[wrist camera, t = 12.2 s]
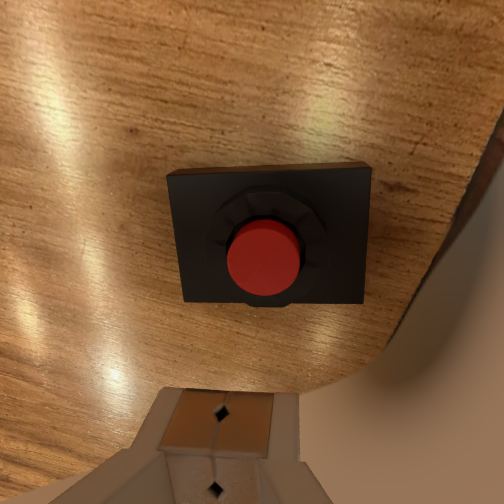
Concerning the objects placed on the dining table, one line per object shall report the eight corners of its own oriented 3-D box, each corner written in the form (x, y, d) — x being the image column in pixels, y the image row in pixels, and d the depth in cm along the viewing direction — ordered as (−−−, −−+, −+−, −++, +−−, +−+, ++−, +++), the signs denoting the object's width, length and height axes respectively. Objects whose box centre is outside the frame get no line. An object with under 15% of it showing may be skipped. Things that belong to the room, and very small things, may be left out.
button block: (365, 161, 21) (379, 172, 17) (358, 287, 23) (368, 321, 20) (178, 168, 22) (153, 180, 18) (193, 286, 25) (174, 317, 21)
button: (299, 217, 19) (299, 228, 17) (300, 281, 20) (300, 296, 18) (230, 219, 19) (223, 229, 17) (235, 281, 20) (229, 296, 19)
